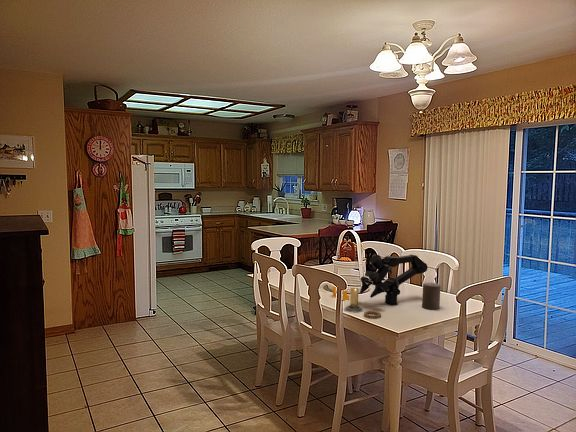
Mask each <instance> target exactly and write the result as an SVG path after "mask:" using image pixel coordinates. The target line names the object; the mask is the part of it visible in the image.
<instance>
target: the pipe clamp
mask: <svg viewBox="0 0 576 432" xmlns="http://www.w3.org/2000/svg"><path fill="white" fill-rule="evenodd" d="M334 286H335V285H334ZM334 286H332V297H333V296H335V297H336V287H334ZM344 290H345V291H343V301H342V302H346V301H345V300H348V301H350V295H349V294H348V290H347V289H344ZM335 297H334V298H335Z"/></svg>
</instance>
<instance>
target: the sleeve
mask: <svg viewBox="0 0 576 432" xmlns="http://www.w3.org/2000/svg"><path fill="white" fill-rule="evenodd" d="M349 291H350V295H349V305H350V308H351V309H358V306H359V288H357V287H352V288H351V287H350V290H349Z"/></svg>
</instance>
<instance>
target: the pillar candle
mask: <svg viewBox="0 0 576 432" xmlns="http://www.w3.org/2000/svg"><path fill="white" fill-rule="evenodd" d="M421 299H422V301H421V308H423V309H424V310H425V309H426V310H430V311H438V310H440V305H441V284H440V283H435V282H424V283H423V284H422V298H421Z"/></svg>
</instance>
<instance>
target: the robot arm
mask: <svg viewBox="0 0 576 432" xmlns="http://www.w3.org/2000/svg"><path fill="white" fill-rule="evenodd" d="M369 263H370V265H372V267H373V268H374V269H375V270H376V271H370V270H366V271H365V274H364V276H361V277H360V282H361V287H360V291H359V294H360V295H362V294H364V292H365V291H367V289H369V288H370V286H374V289H373V290H372V292H371V294H370V296H369V297H370V298H371V299H372V298H374V297H376V296H378V295H379V294H382V293H385V296H384V297H385V298H384V303H385V305H389V306H398V304H399V303H398V296H400V294H401V290H400V289H399V288H400V285H402V284H403V283H406V281H408V280H410V279H411V278H413V277H415V276H416V275H420V274H423V273H425V272H427V271H428V264H427V263H425V261H423V259H422V258H420V257H419V256H418V255H416V254H409V255H401V256H391V255H386V256H384V258H382V257H381V255H380V254H376V255H374V256H372V257H370V259H369ZM407 263H410V265H411V267H410V268H409V269H407V270H406V271H404V272H403V273H400V274H399V275H397V276H396V277H395V278H393V277H390V276H389V277H388V278H387V279H385V278H386V276H387V275H388V274H392V268H395V267H398V266H399V265H402V264H407Z"/></svg>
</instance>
